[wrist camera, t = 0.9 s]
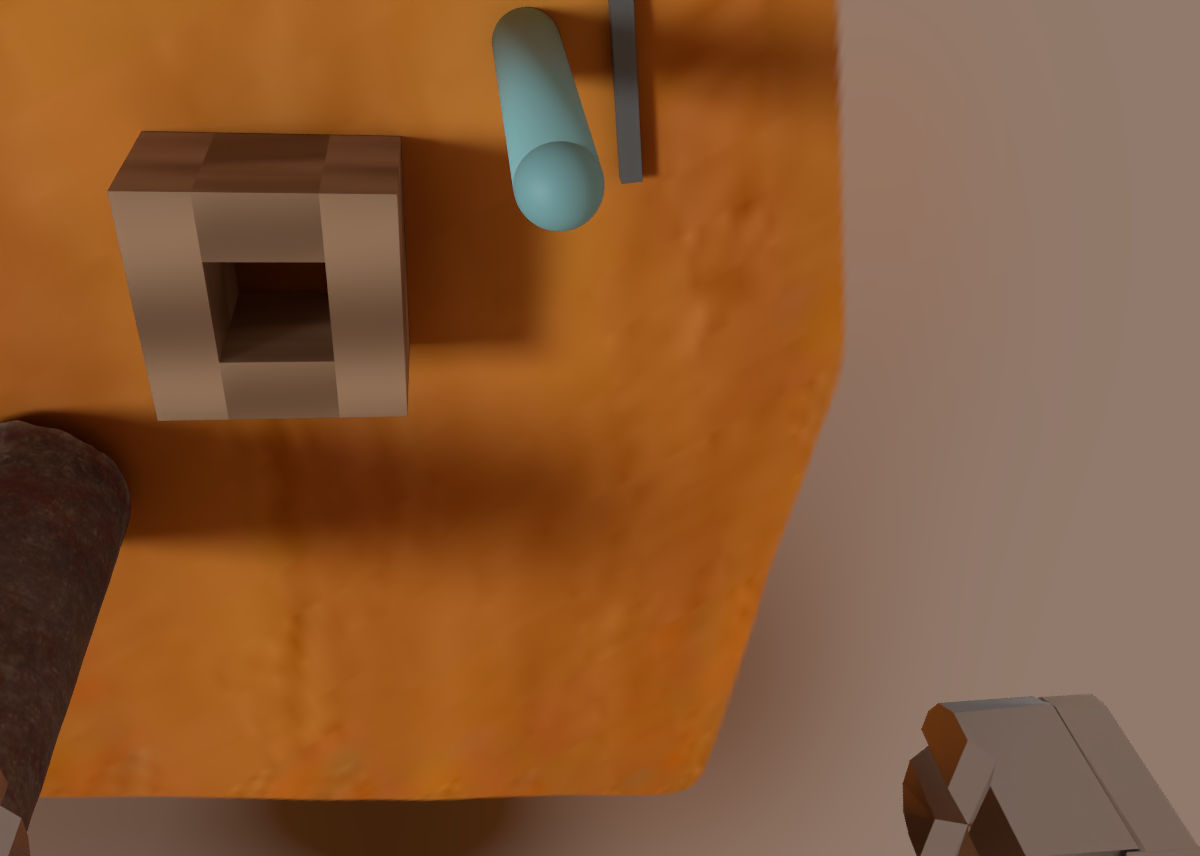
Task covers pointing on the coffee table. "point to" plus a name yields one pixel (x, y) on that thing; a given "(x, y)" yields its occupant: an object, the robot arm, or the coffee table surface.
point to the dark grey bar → (626, 89)
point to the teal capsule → (544, 124)
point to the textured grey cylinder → (49, 588)
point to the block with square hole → (266, 234)
